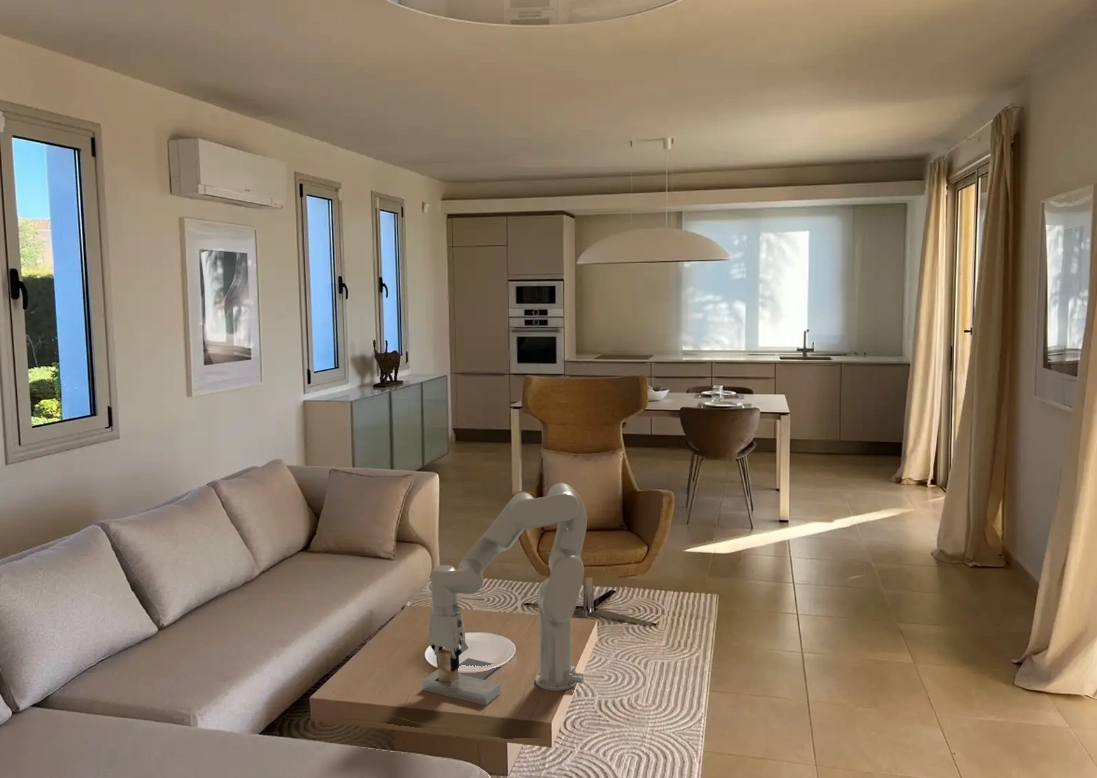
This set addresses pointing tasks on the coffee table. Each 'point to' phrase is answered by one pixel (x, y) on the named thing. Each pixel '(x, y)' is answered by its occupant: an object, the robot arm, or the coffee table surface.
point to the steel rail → (463, 688)
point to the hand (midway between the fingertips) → (448, 667)
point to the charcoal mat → (478, 663)
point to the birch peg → (446, 666)
